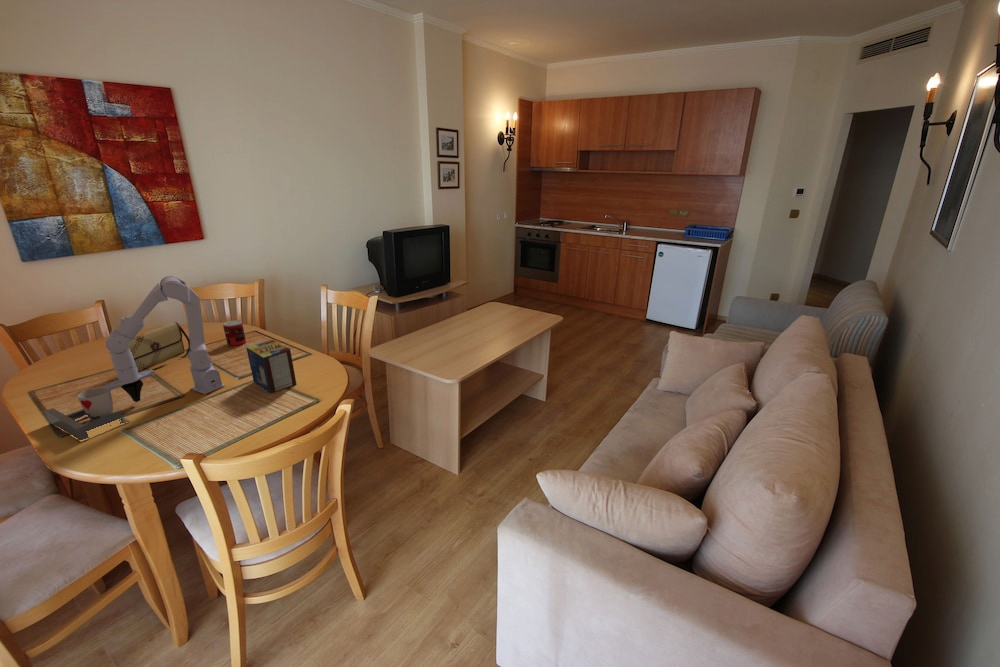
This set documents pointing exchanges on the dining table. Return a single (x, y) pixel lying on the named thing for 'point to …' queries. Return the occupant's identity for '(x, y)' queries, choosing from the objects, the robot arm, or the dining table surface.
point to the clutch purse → (158, 346)
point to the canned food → (234, 333)
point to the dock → (76, 428)
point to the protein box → (271, 365)
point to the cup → (96, 402)
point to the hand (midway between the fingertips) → (136, 400)
